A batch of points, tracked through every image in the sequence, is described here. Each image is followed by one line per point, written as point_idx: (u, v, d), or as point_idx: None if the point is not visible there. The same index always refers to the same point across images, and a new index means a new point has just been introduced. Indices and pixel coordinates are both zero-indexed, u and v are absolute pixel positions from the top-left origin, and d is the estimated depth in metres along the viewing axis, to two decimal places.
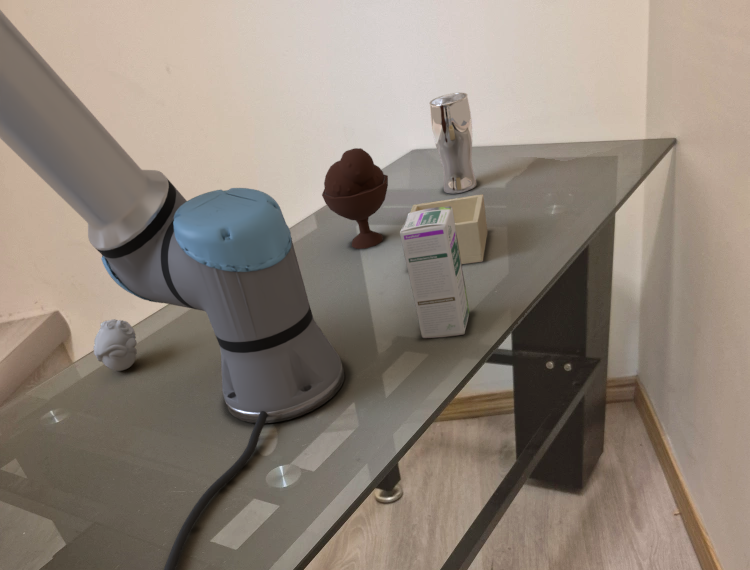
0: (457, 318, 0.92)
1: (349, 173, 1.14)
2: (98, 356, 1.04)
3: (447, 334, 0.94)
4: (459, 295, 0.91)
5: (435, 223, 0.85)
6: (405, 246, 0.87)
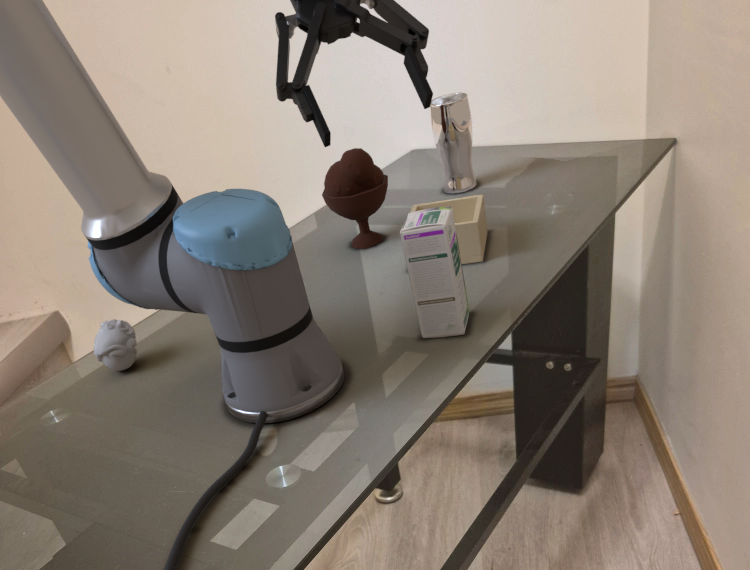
0: (457, 318, 0.92)
1: (349, 173, 1.14)
2: (98, 356, 1.04)
3: (447, 334, 0.94)
4: (459, 295, 0.91)
5: (435, 223, 0.85)
6: (405, 246, 0.87)
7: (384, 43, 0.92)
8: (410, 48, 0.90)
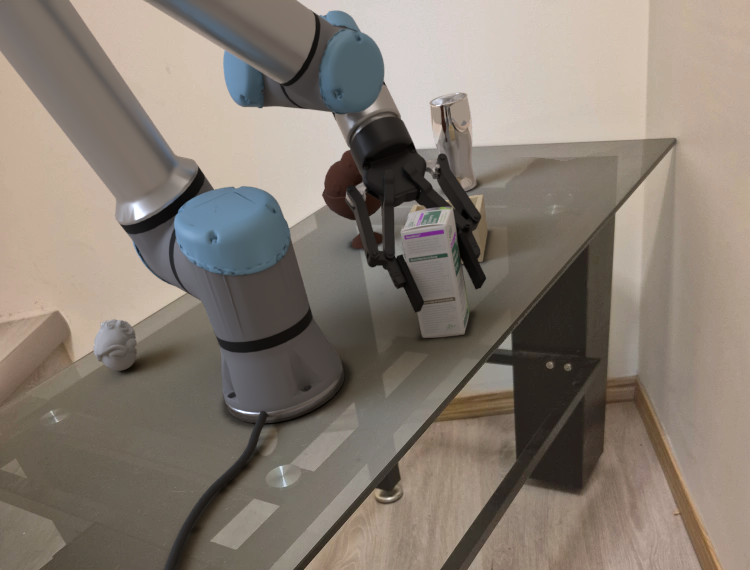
0: (457, 318, 0.92)
1: (349, 173, 1.14)
2: (98, 356, 1.04)
3: (447, 334, 0.94)
4: (459, 295, 0.91)
5: (435, 223, 0.85)
6: (405, 245, 0.87)
7: None
8: (463, 233, 0.90)
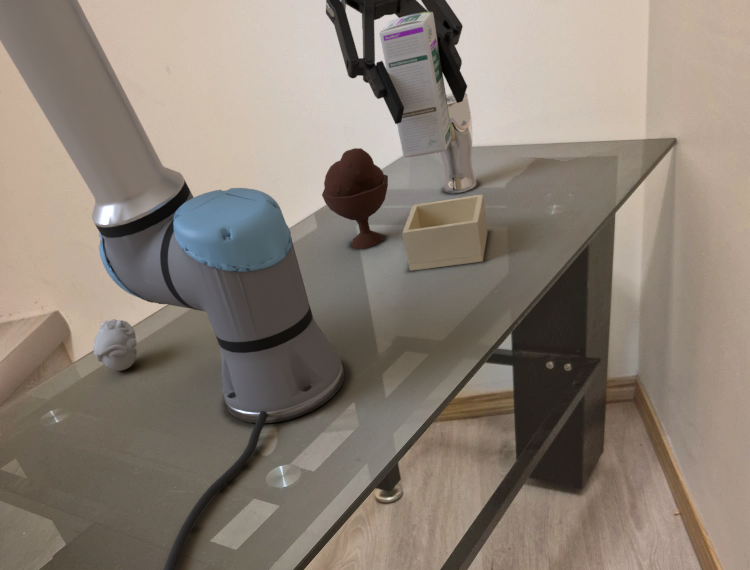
0: (438, 132, 0.91)
1: (349, 173, 1.14)
2: (98, 356, 1.04)
3: (429, 151, 0.93)
4: (440, 106, 0.90)
5: (414, 20, 0.84)
6: (385, 48, 0.86)
7: None
8: (444, 42, 0.89)
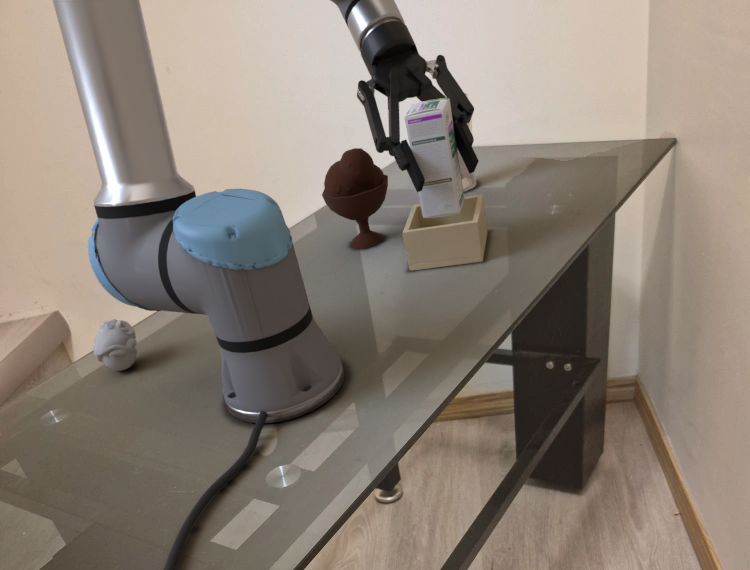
0: (453, 198, 1.06)
1: (349, 173, 1.14)
2: (98, 356, 1.04)
3: (445, 214, 1.08)
4: (455, 176, 1.05)
5: (434, 108, 0.99)
6: (409, 130, 1.01)
7: None
8: (458, 122, 1.04)
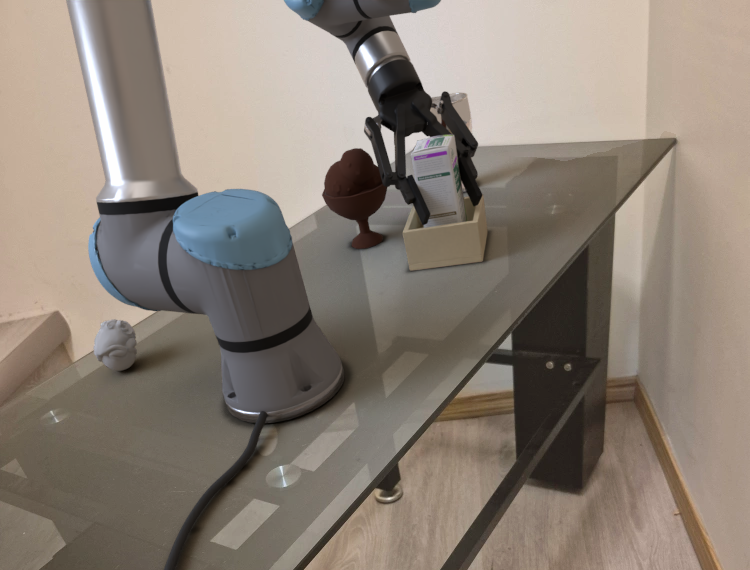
0: None
1: (349, 173, 1.14)
2: (98, 356, 1.04)
3: None
4: (460, 210, 1.08)
5: (440, 145, 1.02)
6: (415, 166, 1.04)
7: None
8: (463, 157, 1.07)
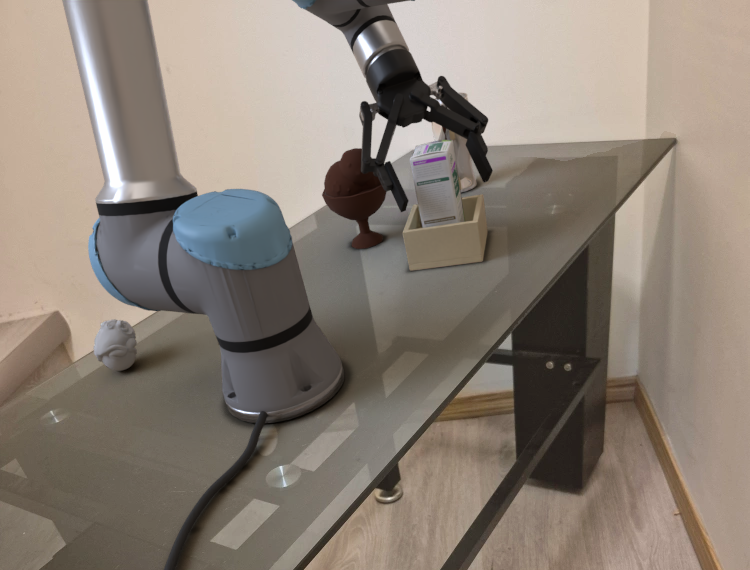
0: None
1: (349, 173, 1.14)
2: (98, 356, 1.04)
3: None
4: (459, 214, 1.08)
5: (439, 151, 1.03)
6: (414, 171, 1.05)
7: (449, 128, 1.09)
8: (473, 133, 1.07)
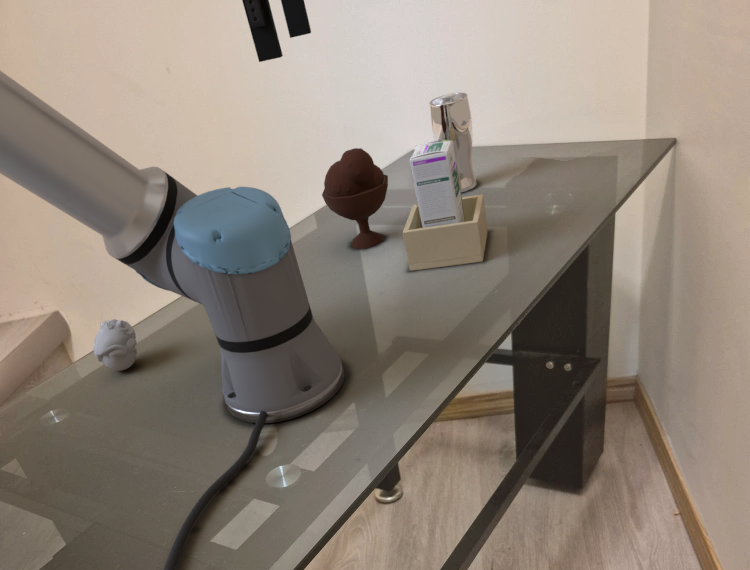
0: None
1: (349, 173, 1.14)
2: (98, 356, 1.04)
3: None
4: (459, 214, 1.08)
5: (439, 151, 1.03)
6: (414, 171, 1.05)
7: None
8: None
